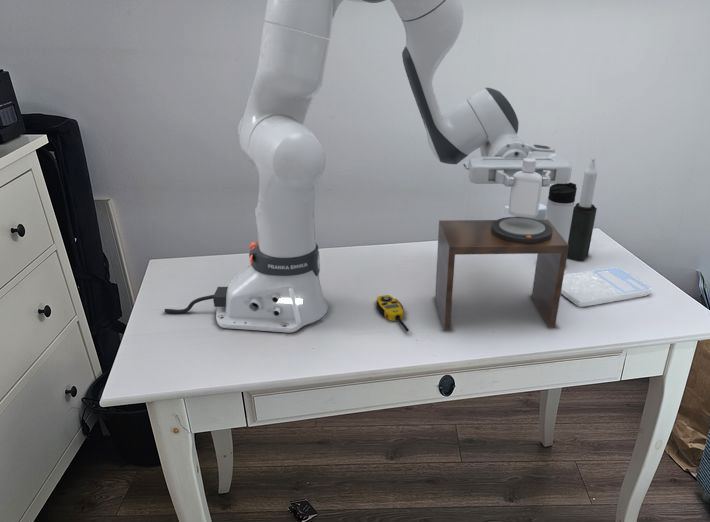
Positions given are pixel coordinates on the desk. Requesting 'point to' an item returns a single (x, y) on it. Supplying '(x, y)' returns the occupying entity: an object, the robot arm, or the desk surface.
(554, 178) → the robot arm
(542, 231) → the hot plate
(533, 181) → the eye dropper bottle
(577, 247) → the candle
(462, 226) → the desk shelf
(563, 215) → the travel mug
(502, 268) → the desk surface
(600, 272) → the calculator
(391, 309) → the yellow walkie talkie
